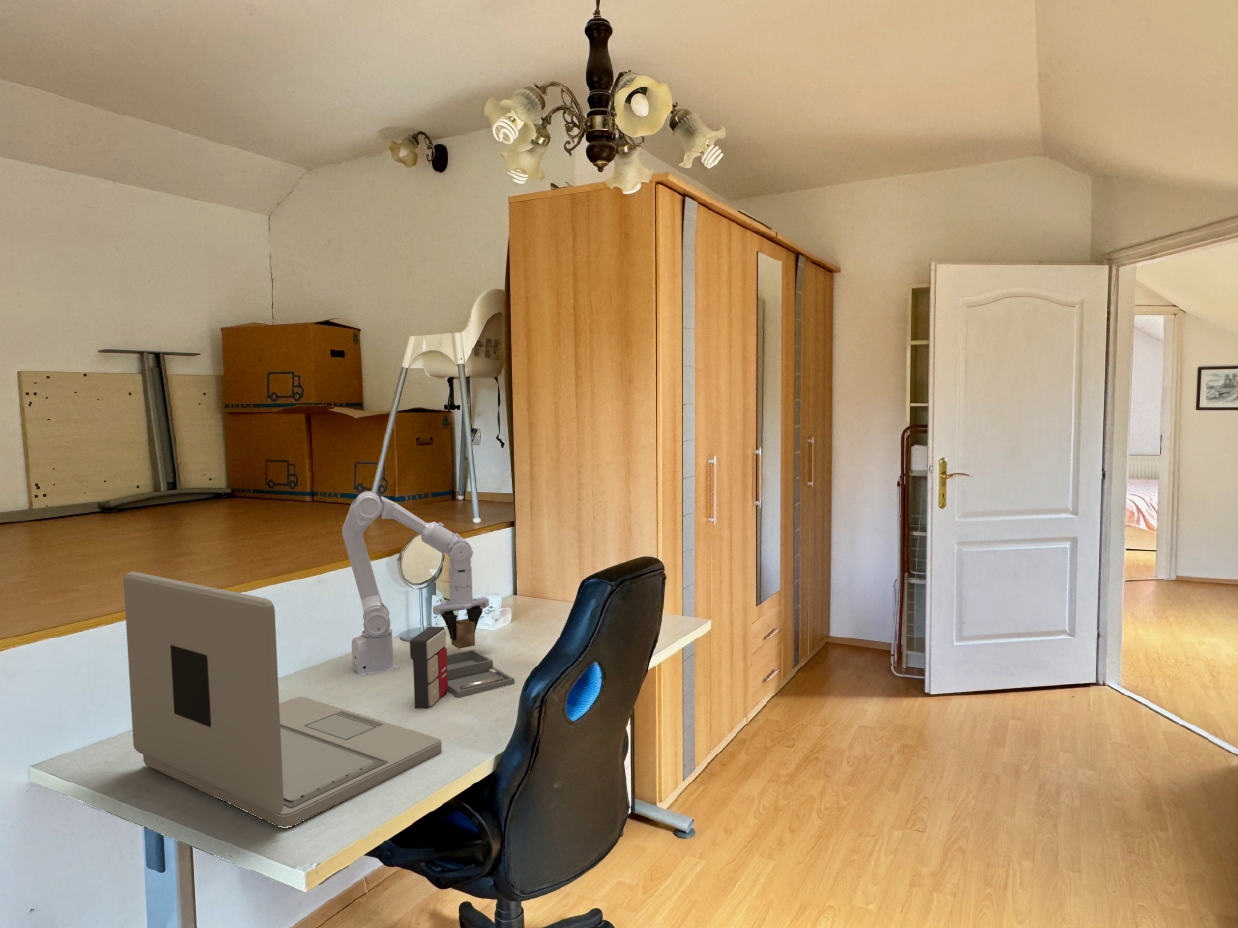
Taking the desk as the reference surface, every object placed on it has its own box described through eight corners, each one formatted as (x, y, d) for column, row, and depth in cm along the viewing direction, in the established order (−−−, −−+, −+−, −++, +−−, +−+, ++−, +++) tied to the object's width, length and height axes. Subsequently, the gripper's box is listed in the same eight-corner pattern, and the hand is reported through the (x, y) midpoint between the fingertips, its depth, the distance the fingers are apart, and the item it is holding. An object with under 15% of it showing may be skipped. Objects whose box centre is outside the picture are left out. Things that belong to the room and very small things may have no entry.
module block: (458, 648, 199) (458, 624, 199) (451, 644, 203) (451, 620, 203) (475, 645, 202) (474, 621, 201) (467, 641, 206) (467, 617, 205)
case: (438, 684, 183) (437, 671, 183) (420, 672, 192) (420, 660, 192) (493, 672, 191) (492, 660, 191) (473, 661, 200) (473, 649, 200)
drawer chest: (431, 710, 167) (428, 640, 166) (411, 709, 168) (409, 640, 167) (450, 691, 178) (447, 626, 177) (431, 691, 179) (429, 626, 178)
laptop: (445, 754, 146) (439, 562, 144) (275, 840, 117) (263, 602, 115) (301, 707, 170) (293, 543, 168) (131, 769, 142) (119, 572, 139)
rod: (462, 685, 176) (459, 685, 177) (463, 691, 176) (460, 691, 177) (502, 675, 182) (500, 676, 183) (503, 682, 182) (501, 682, 183)
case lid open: (457, 698, 174) (457, 691, 174) (438, 684, 183) (438, 678, 183) (514, 685, 182) (514, 678, 182) (493, 672, 191) (493, 666, 191)
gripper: (439, 592, 194) (441, 646, 195) (493, 584, 203) (495, 635, 204) (429, 587, 200) (431, 639, 201) (481, 579, 208) (483, 630, 209)
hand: (462, 637), depth 203 cm, fingers closed on module block, 4 cm apart
